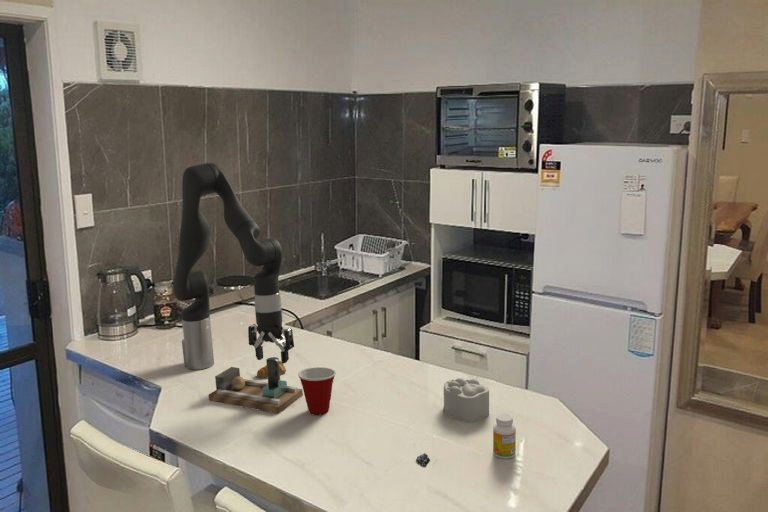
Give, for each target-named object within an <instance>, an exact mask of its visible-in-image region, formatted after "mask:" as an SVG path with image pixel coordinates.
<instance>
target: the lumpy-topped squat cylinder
mask: <svg viewBox="0 0 768 512" xmlns="http://www.w3.org/2000/svg"><path fill="white" fill-rule="evenodd" d="M443 410H444V413H445V414H446V416H447V415H448V417H451V418H452V419H454V420H457V421H460V422H463V423H476V422H477V421H480V419H485V418H486V417H488V416H489V415H490V389H489V387H487V386H485V385H483V384H481V383H480V382H479V380H477V379H476V378H470V379H465V378H462V377H458V378H456V379H450V380H447V381H445V383H444V385H443Z"/></svg>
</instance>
